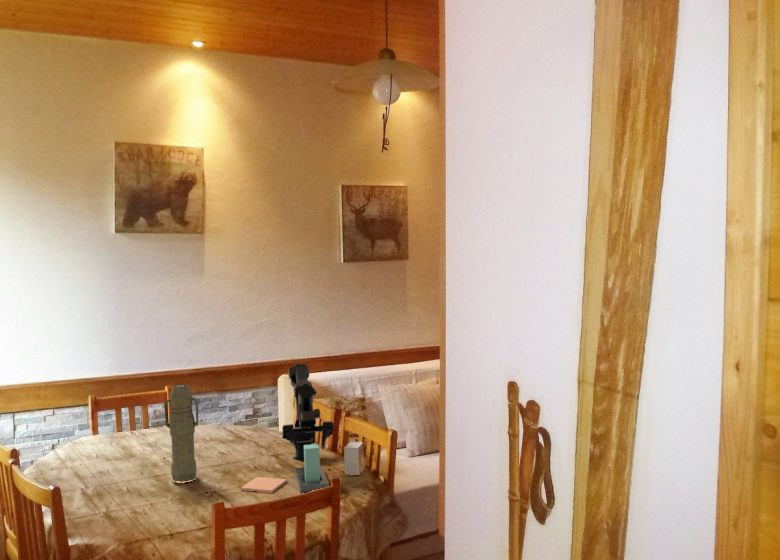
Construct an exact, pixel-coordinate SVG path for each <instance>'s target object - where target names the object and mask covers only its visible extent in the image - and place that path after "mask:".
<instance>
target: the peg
mask: <svg viewBox="0 0 780 560" xmlns="http://www.w3.org/2000/svg"><path fill="white" fill-rule="evenodd" d="M320 460H321V459H320V446H319V444H318V443H314V444H313V443H312V444H311V445H304V461H303V467H304V471H305V482H311V481H320V466H321V461H320Z"/></svg>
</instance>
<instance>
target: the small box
mask: <svg viewBox="0 0 780 560" xmlns="http://www.w3.org/2000/svg"><path fill="white" fill-rule="evenodd" d="M343 453H344V454H343V458H344V461H343V462H344V475H345V474H350V475H349V476H354V475H359V476H360V475H361V474H362V473H363V472H364V470H365V464H364V457H365V456H364V442H363V441H360V442H358V441H349V442H348V443H347V444H346V445H345V446H344V447H343ZM363 469H364V470H363ZM360 473H361V474H360Z"/></svg>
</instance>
